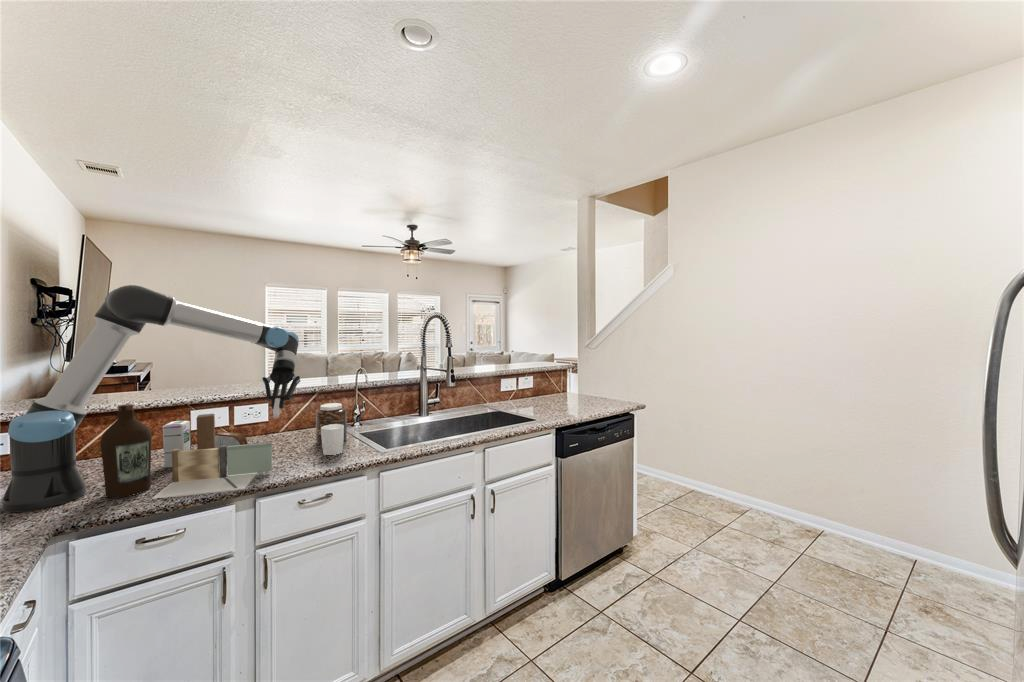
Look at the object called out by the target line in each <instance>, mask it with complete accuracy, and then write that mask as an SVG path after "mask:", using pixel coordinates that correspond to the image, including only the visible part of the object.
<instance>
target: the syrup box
mask: <svg viewBox="0 0 1024 682" xmlns="http://www.w3.org/2000/svg"><path fill="white" fill-rule="evenodd" d="M191 436H192V435H191V421H190V420H176V421H170V422H168V423H166V424H164V425H162V445H163V447H162V448H163V460H164V461H163V463H164V464H163V465H164V468H172V450H174V449H180V451H186V450H192V437H191Z"/></svg>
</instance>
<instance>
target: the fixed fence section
mask: <svg viewBox="0 0 1024 682" xmlns="http://www.w3.org/2000/svg"><path fill="white" fill-rule="evenodd" d="M171 468H172V482H179V481H190V480H200V479H210V478H218V477H219V476H220V477H226V476H227V474H228V471H227V456H226V445H223V446H219V448H212V449H199V450H197V449H191V450H186V451H180V449H174V450H172V467H171Z"/></svg>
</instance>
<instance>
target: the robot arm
mask: <svg viewBox="0 0 1024 682" xmlns="http://www.w3.org/2000/svg"><path fill="white" fill-rule="evenodd" d="M93 319H94V321H95V326H94V327H93V328H92V329H91V331H90V333H89V334H88V335H87V337H86V339H85V340H84V341H83V343H82V345H80V347H79V348H78V350H77V351H76V353H75V354H74V356H73V357H72V358H71V360H70V361H69V363H68V364H67V365H66V367H65V368H64V370H63V371H62V373H61V374H60V376H59V377H58V379H57V380H56V382H55V383H54V384H53V386H52V388H51V389H50V390H49V391H48V393H47V395H46V396H44V397H40V398H37V399H35V400H34V402H32V404H31V405H30V407H29V408H28V410H27V411H26V413H24V414H23V415H20V416H16V417H15V418H13V419H12V420H11V421H10V422H9V425H8V429H7V434H8V436H9V452H10V454H9V455H10V470H11V471H10V472H11V473H10V474H11V478H10V481H9V483H8V486H7V488H6V491H5V493H4V495H3V498H2V500H1V507H2V508H1V511H3V512H7V513H8V512H9V513H18V512H19V513H22V512H29V511H35V510H41V509H45V508H50V507H54V506H59V505H61V504H65V503H68V502H71V501H74V500H77V499H78V498H80V497H83V495H84V496H85V494H86V493H87V483H86V481H85V479H84V477H83V475H82V474H81V473H80V470H79V468H78V467H77V455H76V454H77V452H76V448H77V447H76V430H77V429H78V428H79V426H80V425H81V424H82V421H83V420H84V418H85V417H86V415H87V413H88V411H87V410H86V407H85V405H86V404H87V402H88V401H89V399H90V398H91V397H92V395H93V393H94V392H95V391H96V389H97V387H98V386H99V384H100V383H101V381H103V380H102V379H103V378H104V377H105V375H106V373H107V372H108V371H109V369H110V368H111V367H112V365H113V363H114V362H115V360H116V359H117V358H118V356H119V354H120V353H121V351H122V350H123V349H124V347H125V345H126V343H127V342H128V340H129V339H130V337H133V336H135V335H139V334H140V333H141V331H142V330H143V329H144V327H145V326H146V324H151V325H152V324H153V325H157V326H163V327H165V326H168V325H172V326H177V327H182V328H186V329H190V330H196V331H199V332H203V333H208V334H213V335H217V336H222V337H227V338H230V339H233V340H234V339H235V340H239V341H244V342H249V343H251V344H254V345H257V346H260V347H262V348H266V349H268V350H270V351H273V352H275V354H274V359H273V365H272V369H271V370H272V371H271V373H270V374H269V376H267V377H266V376H265V377H262V382H263V384H264V385H265V392H266V393H265V394H266V398H267V401H268V402H271V404H270V406H271V409H272V416H273V418H274V419H275V418H276V419H278V418H280V413H281V410H283V408H284V406H285V402H286V401H290V400H291V399H292V396H293V394H294V393H295V390H296V388H297V385H299V384H300V383H301V377H300V375H297V376H296V375H295V367H296V360H297V354H298V348H299V336H298V335H297V333H295V332H293V331H288V330H286V329H285V328H283V327H279V326H274V325H270V324H265V323H262V322H258V321H253V320H250V319H246V318H242V317H239V316H235V315H231V314H227V313H223V312H219V311H215V310H213V309H212V310H211V309H207V308H206V307H205V308H204V307H200V306H197V305H192V304H189V303H184V302H181V301H178V300H177V299H176V298H175V297H174V296H171V295H166V294H163V293H161V292H157V291H154V290H152V289H150V288H147V287H144V286H140V285H136V284H132V285H131V284H129V285H128V284H127V285H124V286H120V287H117V288H115V289H113V290H112V291H110V292H109V293H108V294H107V295H106V296H105V298H104V302H103V303H102V305H101V306H100V307H99V308H98V310H97V312H96V313H95V315H94V316H93ZM271 382H272V383H274V385H273V390H272V391H271V386H270V384H271ZM289 383H291V384H290V385H289ZM288 385H289V388H288ZM280 387H281V389H280ZM287 389H288V390H287ZM279 392H280V395H279ZM271 393H272V394H271ZM278 397H279V398H278Z"/></svg>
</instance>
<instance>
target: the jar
mask: <svg viewBox="0 0 1024 682" xmlns="http://www.w3.org/2000/svg"><path fill="white" fill-rule="evenodd" d="M331 424H341V425H344V440H343V443H345V442H346V441H347V440H348V435H347V433H348V432H347V431H348V429H347V428H348V427H347V426H348V423H347V409H346V408H344V407H343V404H342V403H339V402H329V403H324V404H321V405H320V408H319V409H318V410H316V413H315V438H316V440H315V441H316V444H317V445H319V444H320V446H322V439H321V427H323V426H326V425H331Z"/></svg>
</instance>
